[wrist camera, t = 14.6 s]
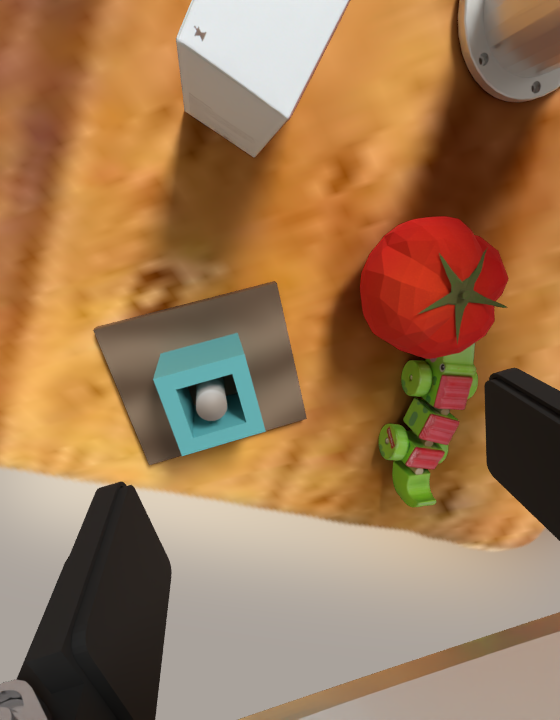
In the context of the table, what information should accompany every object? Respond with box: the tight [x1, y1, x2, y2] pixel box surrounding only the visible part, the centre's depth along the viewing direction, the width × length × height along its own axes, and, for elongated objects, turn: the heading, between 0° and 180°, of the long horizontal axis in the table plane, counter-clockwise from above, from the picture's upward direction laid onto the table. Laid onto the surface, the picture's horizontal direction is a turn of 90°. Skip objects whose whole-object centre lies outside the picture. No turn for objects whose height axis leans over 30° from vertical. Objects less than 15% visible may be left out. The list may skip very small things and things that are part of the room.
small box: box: [176, 0, 350, 157], centre depth 24 cm, size 8×6×13 cm
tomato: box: [360, 216, 508, 359], centre depth 33 cm, size 12×12×10 cm
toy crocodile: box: [379, 343, 478, 507], centre depth 40 cm, size 20×7×6 cm, turn 167°
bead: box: [153, 333, 265, 456], centre depth 34 cm, size 7×7×6 cm
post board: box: [93, 281, 307, 465], centre depth 34 cm, size 14×16×7 cm
